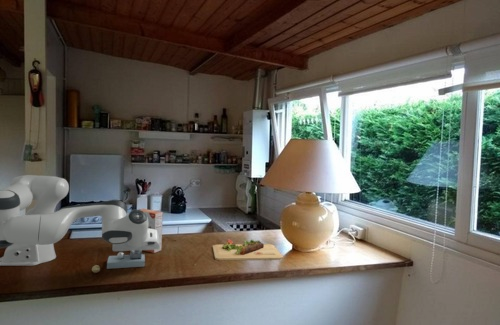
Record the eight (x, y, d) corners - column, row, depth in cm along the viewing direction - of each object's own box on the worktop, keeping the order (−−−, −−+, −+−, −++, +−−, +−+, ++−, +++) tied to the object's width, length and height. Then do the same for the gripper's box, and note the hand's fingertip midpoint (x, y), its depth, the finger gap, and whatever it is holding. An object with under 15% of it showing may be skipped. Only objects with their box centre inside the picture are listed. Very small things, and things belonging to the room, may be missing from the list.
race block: (130, 258, 157) (130, 241, 156) (130, 254, 162) (130, 238, 162) (141, 258, 158) (141, 241, 158) (141, 254, 164) (141, 237, 164)
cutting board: (215, 261, 168) (216, 246, 168) (212, 247, 191) (212, 234, 191) (283, 261, 174) (284, 246, 174) (272, 247, 197) (273, 234, 197)
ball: (116, 260, 155) (117, 253, 155) (117, 257, 158) (117, 251, 158) (124, 259, 156) (124, 252, 156) (124, 257, 159) (124, 250, 159)
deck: (106, 268, 150) (107, 263, 150) (108, 261, 160) (108, 256, 160) (144, 266, 155) (144, 260, 155) (144, 259, 165) (144, 254, 165)
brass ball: (91, 274, 143) (91, 266, 143) (92, 271, 146) (92, 264, 146) (99, 273, 144) (99, 266, 144) (100, 271, 147) (100, 263, 147)
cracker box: (133, 248, 180) (135, 209, 179) (142, 246, 186) (143, 208, 185) (153, 253, 174) (155, 213, 173) (161, 250, 179) (163, 211, 178)
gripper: (110, 244, 142) (111, 259, 152) (161, 242, 148) (159, 257, 158) (111, 231, 146) (112, 247, 156) (160, 229, 152) (158, 245, 162)
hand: (136, 252), depth 157 cm, fingers closed, pressing on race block
